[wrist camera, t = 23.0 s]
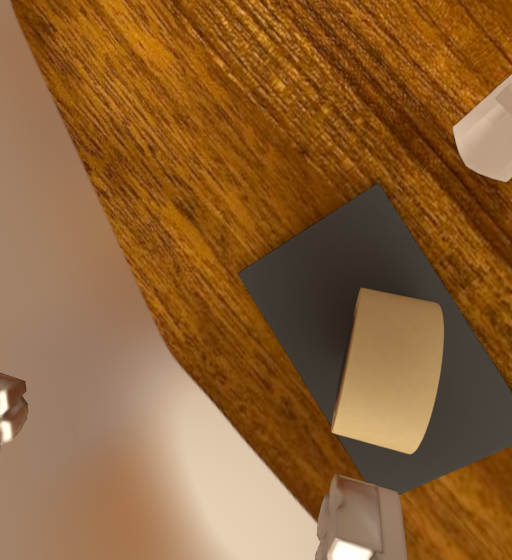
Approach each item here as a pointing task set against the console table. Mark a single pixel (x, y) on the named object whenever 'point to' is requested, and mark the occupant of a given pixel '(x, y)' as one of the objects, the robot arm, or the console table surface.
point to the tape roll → (389, 371)
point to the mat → (336, 324)
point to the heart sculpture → (488, 134)
